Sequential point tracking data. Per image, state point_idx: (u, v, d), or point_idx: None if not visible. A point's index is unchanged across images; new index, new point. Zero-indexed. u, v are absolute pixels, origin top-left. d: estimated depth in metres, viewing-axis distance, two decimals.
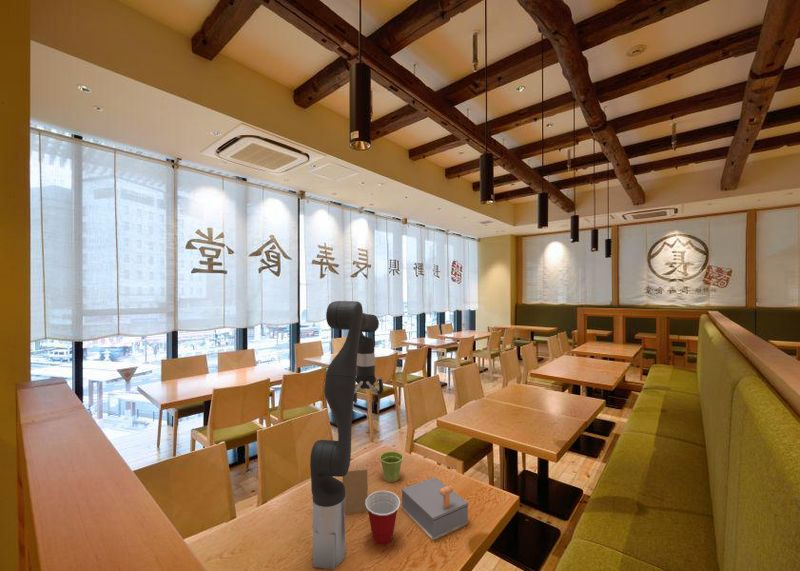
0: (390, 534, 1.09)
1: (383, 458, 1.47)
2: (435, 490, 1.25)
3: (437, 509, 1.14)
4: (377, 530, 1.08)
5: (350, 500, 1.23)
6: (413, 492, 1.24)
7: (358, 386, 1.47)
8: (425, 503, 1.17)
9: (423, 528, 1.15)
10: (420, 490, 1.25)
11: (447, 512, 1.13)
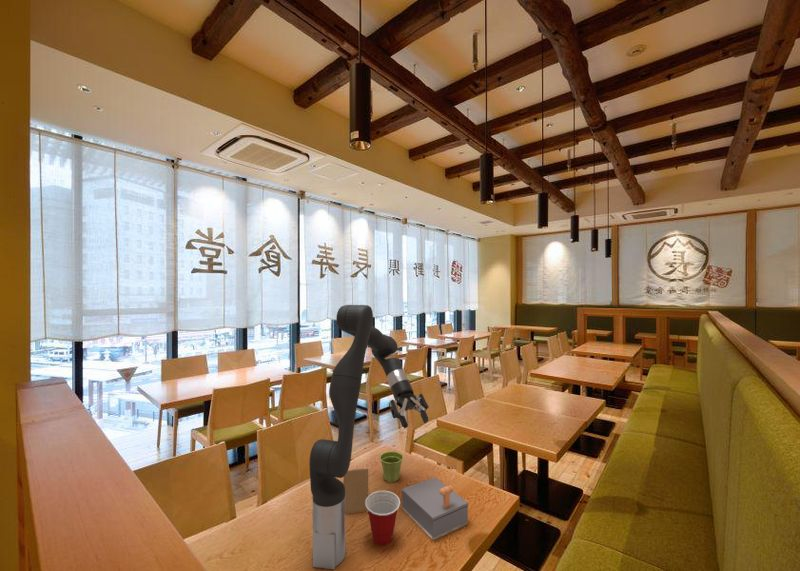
0: (390, 534, 1.09)
1: (383, 458, 1.47)
2: (435, 490, 1.25)
3: (437, 509, 1.14)
4: (377, 530, 1.08)
5: (351, 499, 1.24)
6: (413, 492, 1.24)
7: (404, 405, 1.29)
8: (425, 503, 1.17)
9: (423, 528, 1.15)
10: (420, 490, 1.25)
11: (447, 512, 1.13)
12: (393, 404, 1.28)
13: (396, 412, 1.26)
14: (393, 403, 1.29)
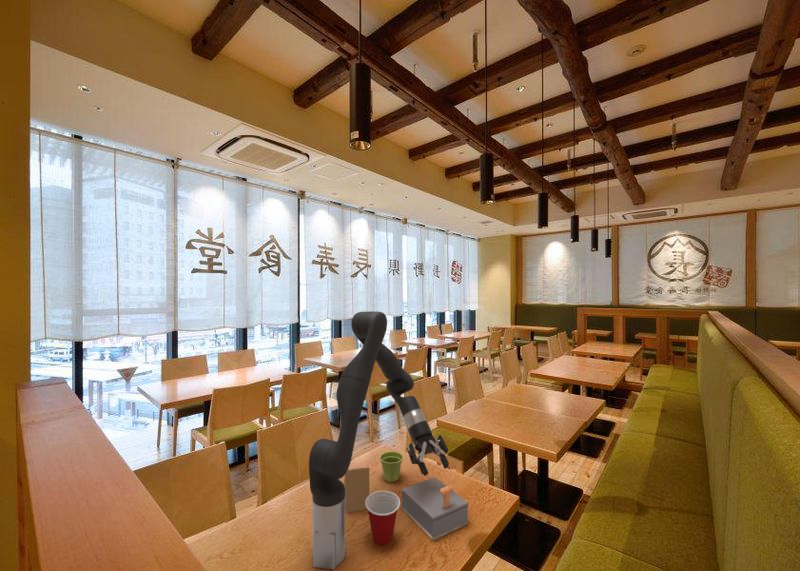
0: (390, 534, 1.09)
1: (383, 458, 1.47)
2: (435, 490, 1.25)
3: (437, 509, 1.14)
4: (377, 530, 1.08)
5: (352, 498, 1.24)
6: (413, 492, 1.24)
7: (423, 449, 1.22)
8: (425, 503, 1.17)
9: (423, 528, 1.15)
10: (420, 490, 1.25)
11: (447, 512, 1.13)
12: (412, 449, 1.21)
13: (415, 458, 1.19)
14: (412, 448, 1.21)
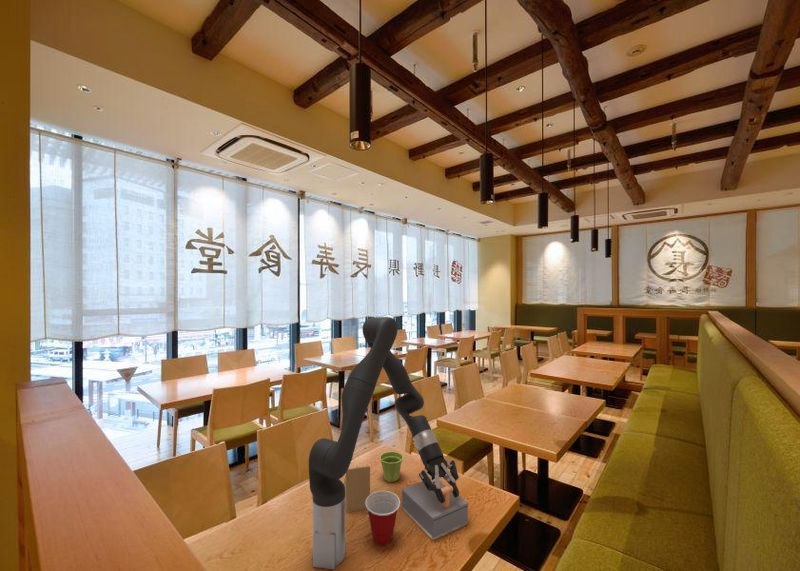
0: (390, 534, 1.09)
1: (383, 458, 1.47)
2: None
3: (437, 509, 1.14)
4: (377, 530, 1.08)
5: (353, 497, 1.25)
6: (413, 492, 1.24)
7: (437, 474, 1.17)
8: (425, 503, 1.17)
9: (423, 528, 1.15)
10: (420, 490, 1.25)
11: (447, 512, 1.13)
12: (425, 476, 1.15)
13: (431, 485, 1.14)
14: (425, 474, 1.16)
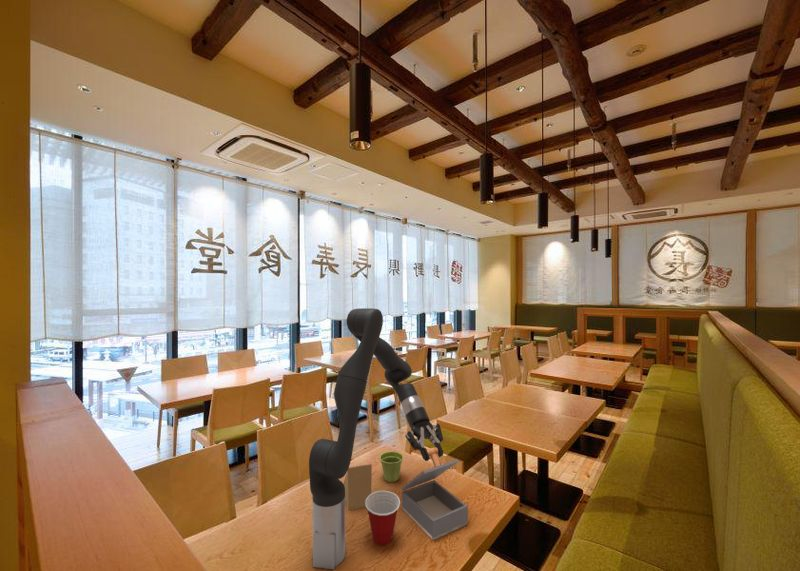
0: (390, 534, 1.09)
1: (383, 458, 1.47)
2: None
3: None
4: (377, 530, 1.08)
5: (355, 495, 1.26)
6: None
7: (422, 435, 1.24)
8: None
9: (423, 528, 1.15)
10: None
11: (438, 467, 1.17)
12: (411, 436, 1.22)
13: (417, 444, 1.21)
14: (411, 435, 1.23)
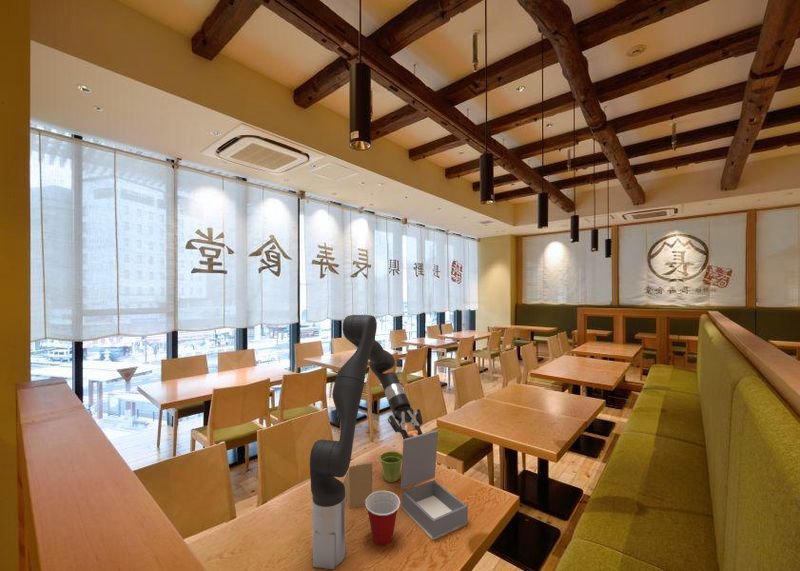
0: (390, 534, 1.09)
1: (383, 458, 1.47)
2: None
3: None
4: (377, 530, 1.08)
5: (356, 494, 1.27)
6: None
7: (403, 418, 1.34)
8: None
9: (423, 528, 1.15)
10: None
11: (417, 436, 1.27)
12: (392, 419, 1.33)
13: (397, 426, 1.31)
14: (392, 418, 1.33)
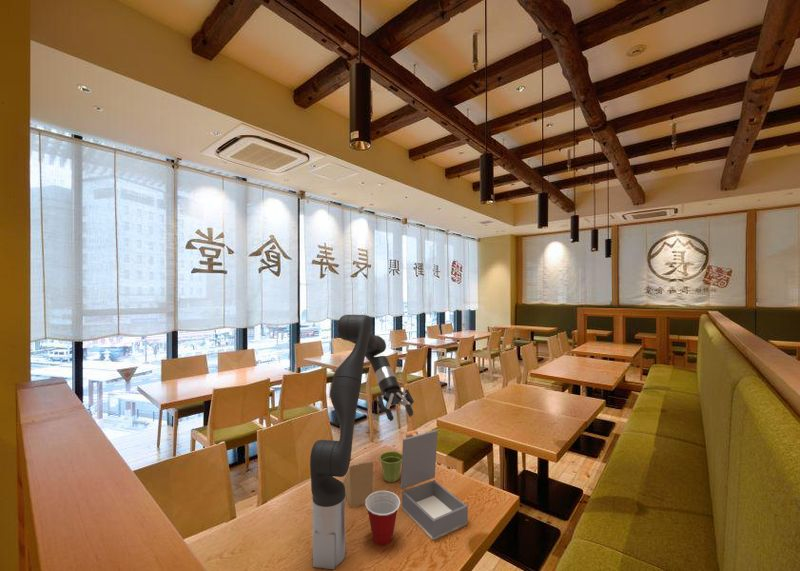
0: (390, 534, 1.09)
1: (383, 458, 1.47)
2: None
3: None
4: (377, 530, 1.08)
5: (357, 493, 1.28)
6: None
7: (390, 399, 1.38)
8: None
9: (423, 528, 1.15)
10: None
11: (417, 435, 1.27)
12: (380, 398, 1.38)
13: (382, 406, 1.36)
14: (380, 397, 1.38)
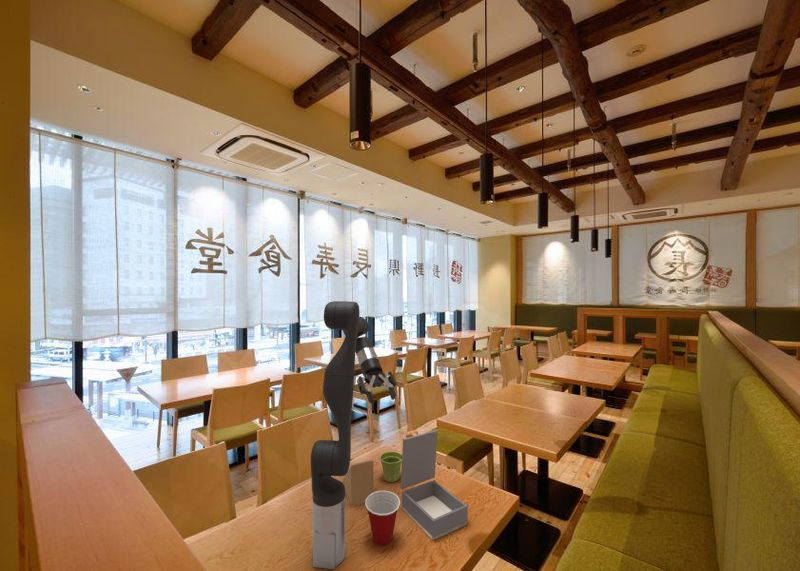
0: (390, 534, 1.09)
1: (383, 458, 1.47)
2: None
3: None
4: (377, 530, 1.08)
5: (358, 492, 1.28)
6: None
7: (372, 381, 1.31)
8: None
9: (423, 528, 1.15)
10: None
11: (417, 435, 1.27)
12: (361, 380, 1.30)
13: (363, 388, 1.28)
14: (361, 379, 1.30)
